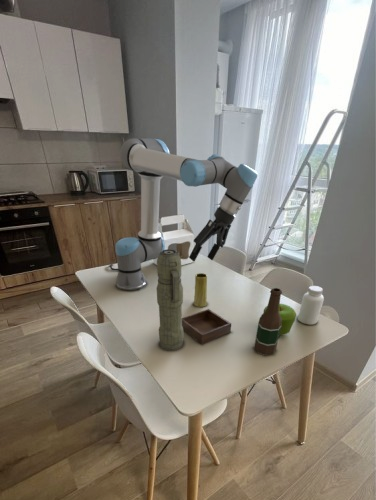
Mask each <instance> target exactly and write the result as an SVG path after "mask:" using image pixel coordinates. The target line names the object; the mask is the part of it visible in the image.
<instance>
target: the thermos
mask: <svg viewBox="0 0 376 500" xmlns="http://www.w3.org/2000/svg"><path fill="white" fill-rule="evenodd" d="M156 269H157V271H156V273H157V278H158V279H157V285H156V303H157V305H158V311H159V312H158V313H159V314H158V317H159V327H158V340H159V345H160V346H159V347H161V348H162V349H163V350H165V351H169V352H170V351H177V350H179V349H181V348H182V347H183V344H184V330H183V327H182V318H183V317H182V316H183V313H182V311H183V310H182V309H183V308H182V307H183V303H184V287H183V283H182V278H181V277H182V265H181V259H180V256H179V253H178V252H177V250H175V249H169V248H168V250H163V251H161V252H160V253H159V256H158V259H157V265H156Z"/></svg>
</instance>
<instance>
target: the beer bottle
mask: <svg viewBox="0 0 376 500" xmlns="http://www.w3.org/2000/svg"><path fill="white" fill-rule="evenodd" d="M269 293H270V294H269V299H268V303H267V305H268V306H267V305H266V306H267V309H266V311H265V312H264V311H263V312H264V313H262V314H261V315H260V317H259V320H258V323H257V330H256V334H255V335H256V336H255V341H254V349H255V351H256V352H257V353H258V354H260V355H263V356H271V355H273V354H274V353H275V352H276V351H277V347H278V342H279V338H280V335H279V334H280V329H281V325H282V318H281V315H280V313H279V304H281V296H282V294H283V290H282V289H281V288H278V287H273V288H271V289H270V291H269Z"/></svg>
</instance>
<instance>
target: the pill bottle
mask: <svg viewBox="0 0 376 500" xmlns="http://www.w3.org/2000/svg"><path fill="white" fill-rule="evenodd" d="M323 292H324V291H323V288H322V287H321V286H318V285H310V286H309V287H308V289H307V291H306V292H305V293H304V294H303V296H302V300H301V304H300V308H299V311H298V315H297V320H298V321H299V322H300V323H302V324H305V325H311V326H312V325H315V324H317V322H318V321H319V317H320V314H321V312H322V311H321V310H322V307H323V304H324V302H325V297H324V295H323Z"/></svg>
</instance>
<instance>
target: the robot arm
mask: <svg viewBox="0 0 376 500" xmlns="http://www.w3.org/2000/svg"><path fill="white" fill-rule="evenodd" d="M119 156H120V161H121V164H122V165H123V166H124V167H125V168H126V169H127V170H129V171H132V172H135V173H137V175H138V176H139V177H140V183H141V184H140V185H141V186H140V230H139V231H138V233H137V237H135V236H130V237H123V238H121V239H119V240H118V241H116V243H115V244H114V245H115V255H116V263H117V268H114V267H113V265H114V263H110V266H109V269H111V270H112V271H118V272H117V277H116V283H115V284H116V287H117V288H118V289H119V290H122V291H127V292H129V291H131V292H132V291H138V290H141V289H143V288H145V287H146V286H147V282H146V277H145V276H144V273H143V271H142V263H146V262H148V261H151V260H152V261H153V259H156V258H158V256H159V253H160V252H161V251H163V250H165V243H164V242H163V241H164V240H163V238H162V237H161V234H160V233H159V232H158V223H159V219H160V216H159V215H160V194H161V193H160V190H161V180H162V178H164V177H165V178H169V179H173V180H176V181H180V182H182V183H183V184H184V185H185V186H187V187H199V186H205V185H206V186H207V185H213V184H219V185H220V186H221V187H223V188H225V189H226V190H225V192H224V194H223V196H222V198H221V200H220V202H219V206H217V208H216V210H215V212H214V214H213V216H214V220H212V219H209V220H208V221H207V223H206V224H205V225H204V227H203V228H202V229H201V231H199V233H198V234H197V235H196V237H194V248H193V250H192V252H191V254H190V256H189V258H190V259H191V260H192V261H193V262H195V261H196V260H197V258H198V256H199V254H200V252H201V250H202V249H203V245H204V244H205V243H206V242H207V241H208V240H209V239H210V238H211V237H213V236H215V235H216V239H215V243H214V244H213V245H212V247H211V249H210V251H209V253H208V254H207V258H208V259H209V260H211V261H214V259H215V257H216V255H217V253H218V252H219V250H220V248H223V247H224V246H225V244H226V242H227V239H228V235H229V232H230V230H231V227H232V224H233V222H234V220H235V219H236V215H237V214H238V213H239V211H240V210H241V207H242V205H243V204H244V202H245V200H246V198H247V197H248V195H249V193H250V192H251V190H252V189H253V187H254V184H255V182H256V181H257V179H258V172H257V171H256V170H255V169H253V168H251V167H250V166H248V165H246V164H244V163H240V164H239V165H238V166H235V165H234V164H233V163H231V162H230V161H229V160H227V159H225V158H224V157H223V156H220V155H218V154H211V155H210V156H209V157H207V159H198V158H197V159H196V158H191V157H186V156H182V155H178V154H173V153H170V150H169V148H168V146H167V144H166V143H165V142H164V141H163V140H161V139H157V138H136V137H135V138H134V137H133V138H129V139H127V140H125V141H124V142H123V143H122V145H121V147H120V150H119Z"/></svg>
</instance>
